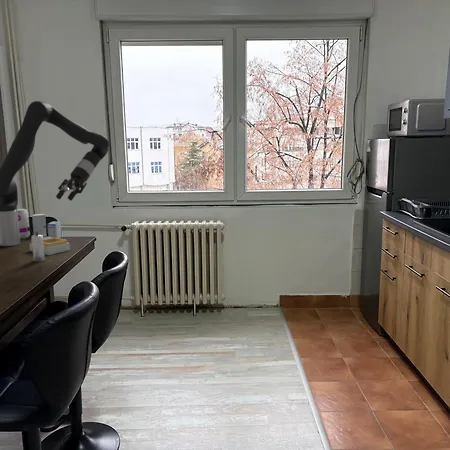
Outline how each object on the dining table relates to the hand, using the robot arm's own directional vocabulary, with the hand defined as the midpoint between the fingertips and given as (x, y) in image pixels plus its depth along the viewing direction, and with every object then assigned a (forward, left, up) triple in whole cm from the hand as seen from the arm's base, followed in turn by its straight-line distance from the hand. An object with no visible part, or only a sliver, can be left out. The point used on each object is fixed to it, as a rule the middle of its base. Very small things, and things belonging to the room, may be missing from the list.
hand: (63, 198), depth 188 cm
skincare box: (-45, +15, -25) cm, 54 cm away
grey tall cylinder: (0, -14, -25) cm, 29 cm away
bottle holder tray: (-12, -1, -25) cm, 28 cm away
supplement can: (-53, +9, -25) cm, 59 cm away
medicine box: (-33, +16, -25) cm, 45 cm away
